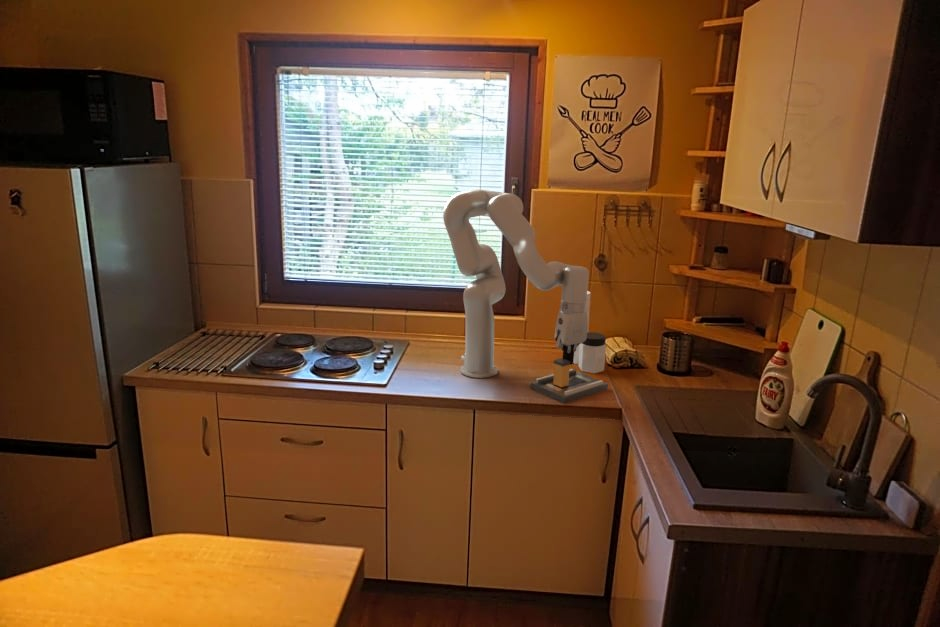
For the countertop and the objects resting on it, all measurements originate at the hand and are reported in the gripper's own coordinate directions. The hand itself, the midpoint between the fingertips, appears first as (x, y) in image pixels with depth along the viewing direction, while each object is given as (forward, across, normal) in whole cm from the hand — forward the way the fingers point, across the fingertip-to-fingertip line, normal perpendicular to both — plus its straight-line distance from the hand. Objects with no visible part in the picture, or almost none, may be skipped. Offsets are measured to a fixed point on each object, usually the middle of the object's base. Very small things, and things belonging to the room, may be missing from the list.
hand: (567, 363), depth 196 cm
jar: (+8, +20, +7) cm, 23 cm away
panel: (+8, 0, -1) cm, 8 cm away
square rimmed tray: (+6, 0, -1) cm, 6 cm away
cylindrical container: (+9, +22, +16) cm, 29 cm away
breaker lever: (+6, -3, -1) cm, 7 cm away
